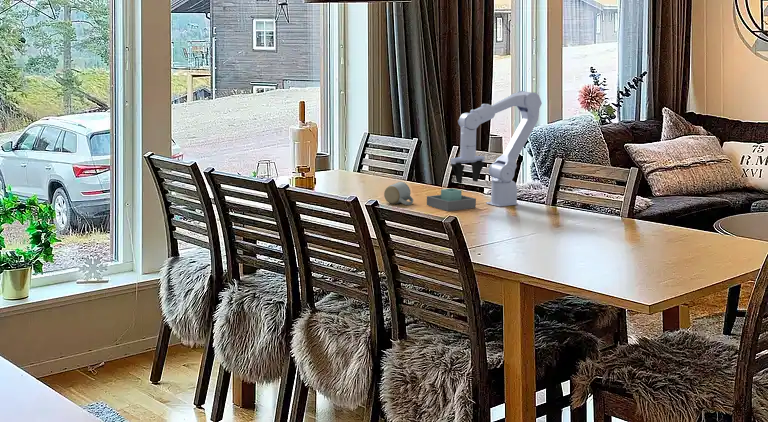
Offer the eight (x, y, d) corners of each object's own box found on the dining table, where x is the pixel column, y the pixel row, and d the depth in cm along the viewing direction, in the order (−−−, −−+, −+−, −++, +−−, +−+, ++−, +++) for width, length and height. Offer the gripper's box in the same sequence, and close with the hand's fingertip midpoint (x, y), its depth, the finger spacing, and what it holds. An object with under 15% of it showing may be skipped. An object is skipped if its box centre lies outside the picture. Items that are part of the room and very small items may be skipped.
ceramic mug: (382, 203, 357) (382, 183, 356) (393, 200, 364) (394, 180, 362) (406, 207, 352) (407, 186, 350) (417, 203, 358) (418, 183, 357)
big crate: (454, 202, 361) (454, 193, 360) (475, 207, 350) (475, 198, 350) (426, 205, 354) (426, 196, 353) (447, 211, 343) (448, 201, 343)
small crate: (452, 202, 356) (452, 188, 355) (461, 204, 351) (461, 190, 350) (440, 204, 353) (441, 189, 352) (449, 206, 348) (450, 191, 347)
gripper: (476, 143, 355) (475, 178, 358) (445, 145, 347) (445, 182, 350) (488, 145, 349) (487, 181, 352) (457, 147, 342) (456, 184, 344)
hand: (467, 181), depth 351 cm, fingers open, 7 cm apart
